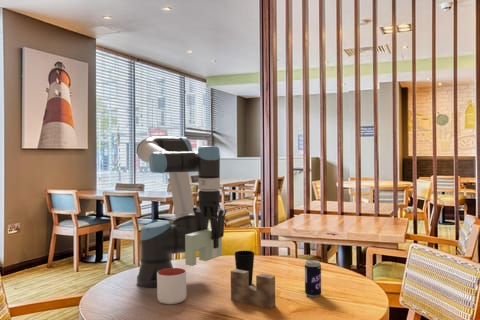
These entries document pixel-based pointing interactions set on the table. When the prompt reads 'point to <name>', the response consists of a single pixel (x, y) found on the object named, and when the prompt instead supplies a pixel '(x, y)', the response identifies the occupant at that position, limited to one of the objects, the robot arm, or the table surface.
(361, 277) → the table surface
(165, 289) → the cup
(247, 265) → the cup
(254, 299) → the walnut stand
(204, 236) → the sage plate
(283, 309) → the table surface
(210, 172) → the robot arm
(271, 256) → the table surface
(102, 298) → the table surface
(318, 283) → the beverage can
